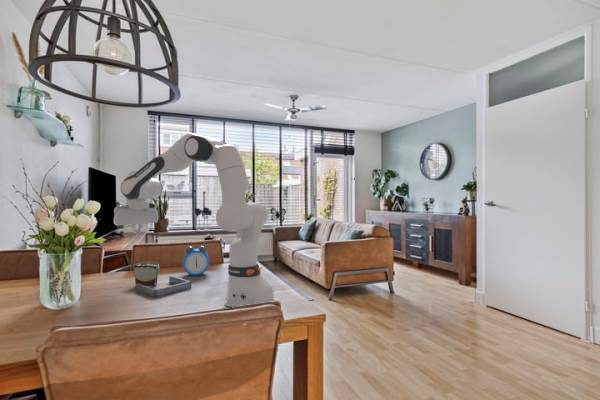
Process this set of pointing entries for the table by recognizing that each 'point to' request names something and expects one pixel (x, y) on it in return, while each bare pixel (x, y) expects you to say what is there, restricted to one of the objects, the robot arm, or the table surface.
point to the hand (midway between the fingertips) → (137, 233)
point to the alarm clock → (196, 260)
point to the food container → (146, 273)
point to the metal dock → (180, 285)
